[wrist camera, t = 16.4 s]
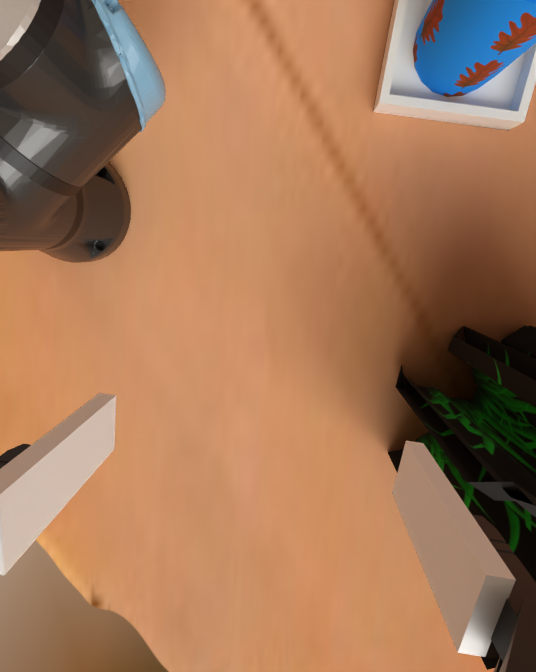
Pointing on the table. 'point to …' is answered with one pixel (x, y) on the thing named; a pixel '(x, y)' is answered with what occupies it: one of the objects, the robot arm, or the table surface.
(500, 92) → the tray
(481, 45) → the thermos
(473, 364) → the decorative plant
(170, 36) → the table surface
